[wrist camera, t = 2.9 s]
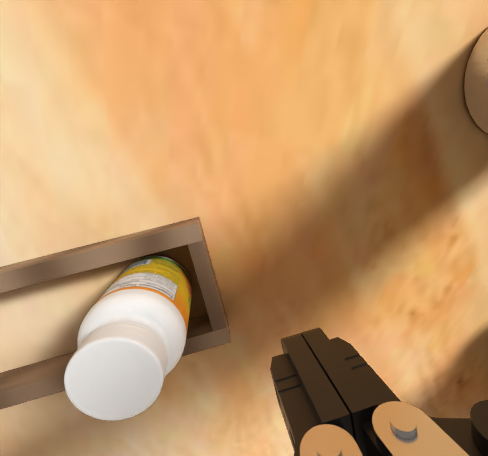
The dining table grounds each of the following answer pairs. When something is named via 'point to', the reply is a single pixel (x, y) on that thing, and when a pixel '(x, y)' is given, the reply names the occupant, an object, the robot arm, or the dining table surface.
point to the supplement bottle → (130, 340)
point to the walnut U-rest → (101, 254)
